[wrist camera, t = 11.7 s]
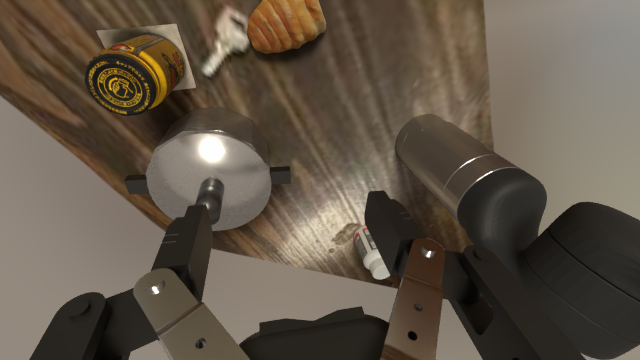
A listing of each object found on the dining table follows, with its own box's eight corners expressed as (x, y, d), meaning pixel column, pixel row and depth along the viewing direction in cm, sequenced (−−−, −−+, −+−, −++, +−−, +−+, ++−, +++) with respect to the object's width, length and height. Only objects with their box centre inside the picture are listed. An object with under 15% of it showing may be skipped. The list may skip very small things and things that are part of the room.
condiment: (196, 87, 36) (174, 120, 26) (127, 95, 35) (76, 133, 25) (176, 23, 32) (141, 34, 22) (97, 30, 31) (22, 44, 21)
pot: (284, 106, 39) (290, 127, 33) (286, 189, 47) (291, 219, 40) (130, 109, 35) (102, 133, 29) (160, 198, 43) (143, 233, 37)
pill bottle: (363, 247, 59) (379, 285, 51) (347, 236, 56) (362, 275, 48) (382, 232, 58) (403, 269, 50) (367, 220, 55) (386, 257, 47)
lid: (267, 124, 33) (269, 153, 27) (273, 216, 41) (276, 254, 35) (135, 129, 30) (105, 161, 24) (169, 225, 38) (152, 269, 32)
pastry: (266, 66, 36) (266, 72, 33) (233, 13, 32) (231, 14, 29) (328, 27, 35) (335, 29, 32) (302, -32, 31) (307, -36, 28)
